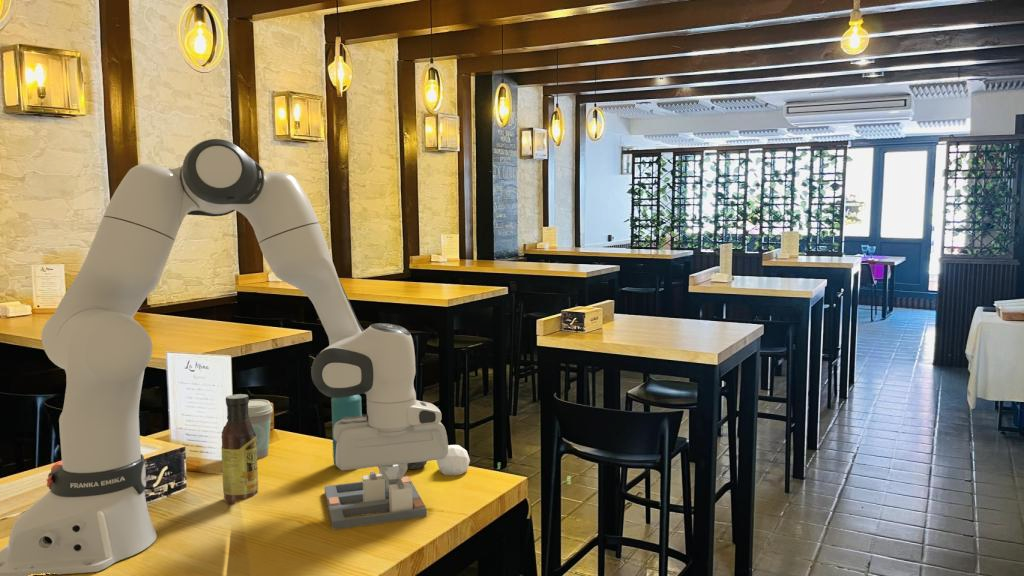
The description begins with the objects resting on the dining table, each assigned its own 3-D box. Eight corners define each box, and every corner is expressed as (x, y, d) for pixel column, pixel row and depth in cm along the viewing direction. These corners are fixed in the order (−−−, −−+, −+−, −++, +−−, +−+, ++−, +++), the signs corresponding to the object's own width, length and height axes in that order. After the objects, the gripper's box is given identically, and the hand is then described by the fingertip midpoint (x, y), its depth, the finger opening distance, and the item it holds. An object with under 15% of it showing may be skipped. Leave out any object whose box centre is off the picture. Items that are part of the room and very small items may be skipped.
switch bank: (332, 535, 120) (332, 519, 120) (324, 498, 136) (324, 484, 136) (426, 522, 126) (426, 506, 125) (408, 488, 142) (408, 474, 141)
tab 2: (381, 493, 136) (381, 464, 135) (379, 488, 139) (378, 460, 138) (400, 491, 137) (400, 462, 137) (398, 486, 140) (397, 458, 139)
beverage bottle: (361, 475, 149) (358, 380, 147) (329, 475, 149) (325, 380, 147) (367, 464, 155) (365, 373, 153) (337, 465, 155) (334, 373, 153)
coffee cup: (226, 461, 158) (224, 407, 157) (247, 448, 167) (244, 398, 166) (262, 462, 157) (260, 409, 156) (281, 450, 165) (279, 399, 164)
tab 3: (392, 518, 125) (391, 487, 124) (389, 512, 127) (388, 481, 127) (412, 515, 126) (412, 484, 125) (409, 509, 128) (409, 479, 128)
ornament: (471, 481, 145) (450, 456, 142) (444, 487, 148) (424, 463, 145) (479, 456, 150) (460, 432, 147) (454, 463, 153) (434, 440, 150)
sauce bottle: (255, 504, 134) (250, 399, 132) (220, 506, 133) (215, 401, 131) (261, 491, 141) (257, 391, 139) (228, 493, 140) (223, 393, 138)
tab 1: (365, 508, 129) (364, 478, 128) (363, 502, 132) (362, 472, 131) (385, 505, 130) (384, 475, 130) (382, 500, 133) (382, 470, 132)
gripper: (334, 422, 124) (336, 500, 125) (449, 412, 131) (450, 486, 132) (331, 413, 130) (333, 488, 131) (441, 404, 137) (442, 474, 138)
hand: (393, 487), depth 132 cm, fingers closed
